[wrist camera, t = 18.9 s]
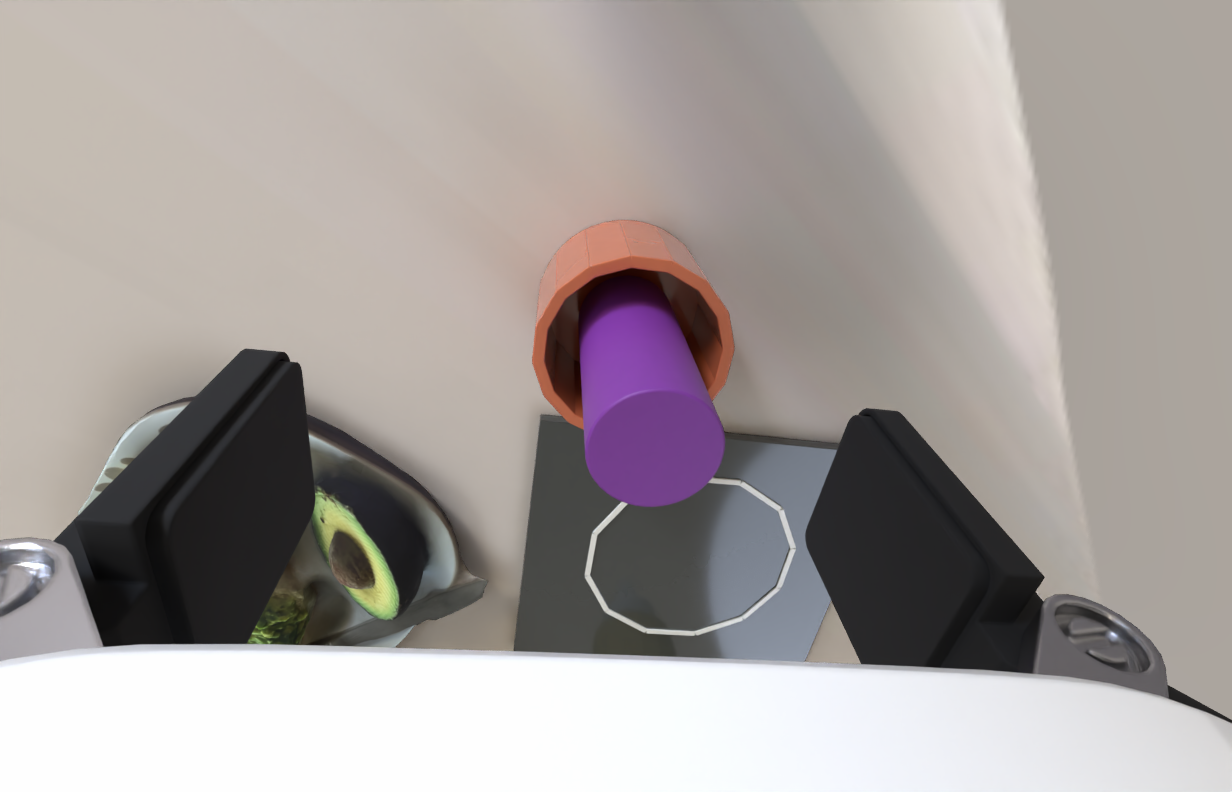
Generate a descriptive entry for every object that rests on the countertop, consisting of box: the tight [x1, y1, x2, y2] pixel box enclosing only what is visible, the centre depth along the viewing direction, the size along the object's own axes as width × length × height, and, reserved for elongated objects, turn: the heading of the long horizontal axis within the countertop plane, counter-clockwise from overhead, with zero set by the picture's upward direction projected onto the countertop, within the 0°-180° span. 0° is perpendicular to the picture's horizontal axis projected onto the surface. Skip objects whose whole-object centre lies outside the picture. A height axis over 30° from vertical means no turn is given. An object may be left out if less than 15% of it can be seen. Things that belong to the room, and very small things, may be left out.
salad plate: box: [78, 397, 488, 648], centre depth 31 cm, size 19×18×5 cm
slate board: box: [514, 415, 839, 662], centre depth 35 cm, size 16×18×1 cm
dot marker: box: [578, 276, 725, 507], centre depth 23 cm, size 4×4×11 cm
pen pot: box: [532, 220, 735, 430], centre depth 25 cm, size 7×7×6 cm
